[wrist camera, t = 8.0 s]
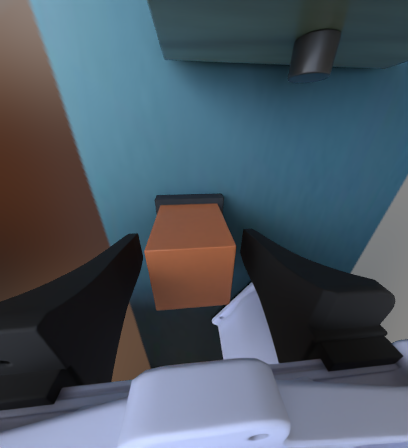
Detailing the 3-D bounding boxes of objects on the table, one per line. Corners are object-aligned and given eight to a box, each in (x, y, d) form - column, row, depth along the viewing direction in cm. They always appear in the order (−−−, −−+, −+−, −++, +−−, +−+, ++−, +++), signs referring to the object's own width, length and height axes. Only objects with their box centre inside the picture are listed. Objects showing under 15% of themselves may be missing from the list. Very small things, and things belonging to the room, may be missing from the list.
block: (215, 248, 15) (229, 304, 10) (166, 251, 14) (156, 310, 9) (217, 203, 13) (236, 245, 8) (160, 205, 12) (143, 250, 7)
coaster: (218, 245, 16) (220, 252, 15) (163, 248, 15) (162, 255, 14) (221, 193, 13) (223, 197, 12) (156, 195, 13) (154, 199, 12)
